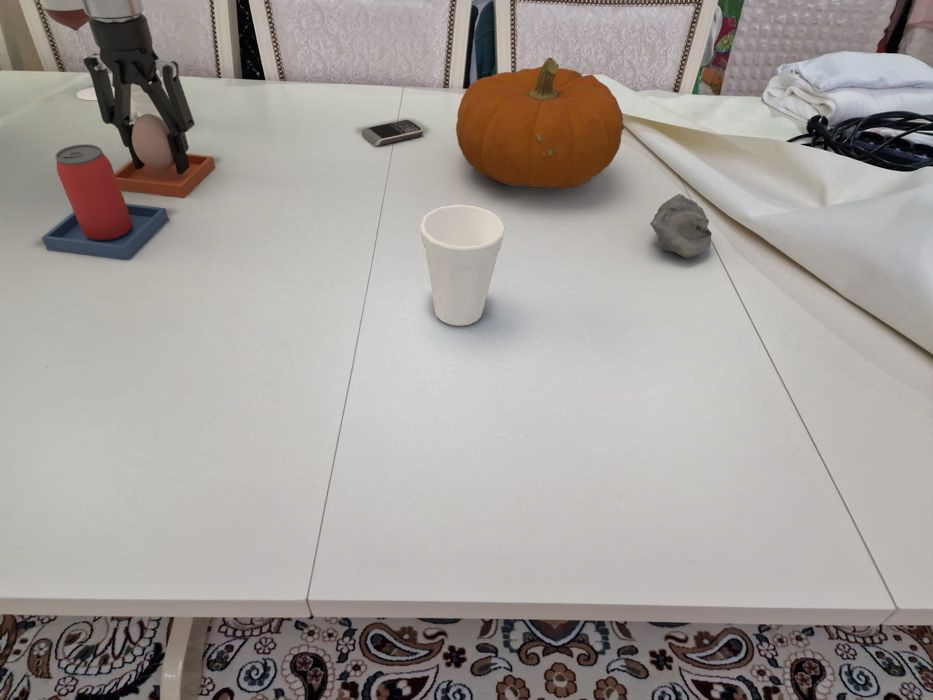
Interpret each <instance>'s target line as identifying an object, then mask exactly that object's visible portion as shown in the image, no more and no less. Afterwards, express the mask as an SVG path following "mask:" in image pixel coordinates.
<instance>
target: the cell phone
mask: <svg viewBox="0 0 933 700" xmlns="http://www.w3.org/2000/svg"><path fill="white" fill-rule="evenodd" d="M423 133H424V129H423V128H422V127H421V126H420V125H418V124H417V123H415V122H414V121H411V120H409V119H403V120H399V121H393V122H389V123H384V124H379V125H374V126H370V127H365V128H363V129H362V130H361V136H362V137H363V138H364V139H365V140H367V141H368V142H369V143H371V144H372V145H374V146H376V147H379V146H384V145H388V144H392V143H397V142H401V141H406V140H411V139H415V138H418V137H421V136H423Z"/></svg>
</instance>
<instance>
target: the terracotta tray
mask: <svg viewBox="0 0 933 700" xmlns="http://www.w3.org/2000/svg"><path fill="white" fill-rule="evenodd" d="M186 155H187V158H188V162H189V166H190V167H189V168H188V169H187V170H186V171H185V172H184V173H183V174H178V173H177V170H176V166H175V164H174V165H173V166H172V167H171V168H169V169H168V170H164V171H158V170H154V169H151V168H149V167H148V166H146V165H144V166H143V167H142V168H141V169H135V166H134V163H133V160H132V159H131V160H130V161H129V162H127V163H126V164H125V165H124V166H122V167H121V168H120V169H119V170H117V171H116V172H114V174H115V176H116V179H117V182H118V185H119V187H120V190H121V192H122V191H123V192H124V191H125V192H132V193H140V194H149V195H150V194H151V195H157V196H167V197H173V198H174V197H176V198H184V199H185V198H186V197H187V196H188V195H189V194H190V193H191V192H192V191H193V190H194V189H195V188H196V187H197V186H198V185H199V184H200V183H201V182H202V181H203V180H204V179H205V178H206V177H207V176H208V175H210V173H211V172H212V171H213V170H214V169H215V168H216V166H215V161H214V157H213V156H212V155H211V156H209V155H201V154H193V153H186Z"/></svg>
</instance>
